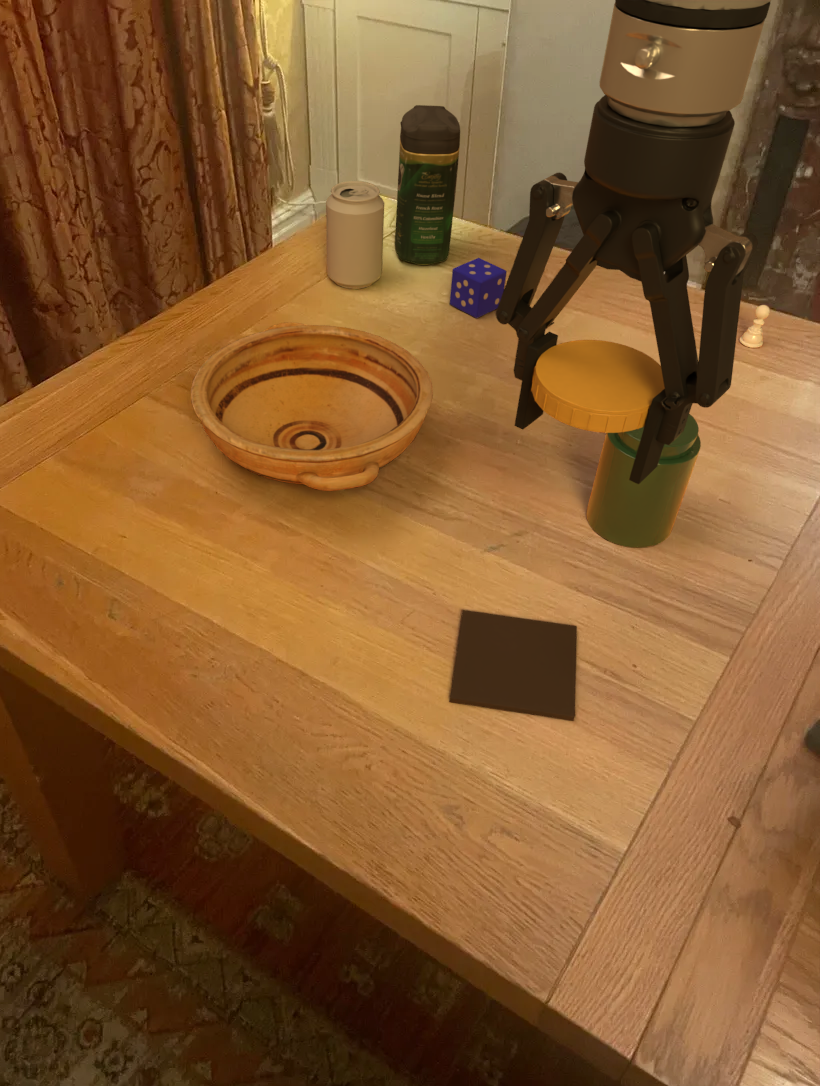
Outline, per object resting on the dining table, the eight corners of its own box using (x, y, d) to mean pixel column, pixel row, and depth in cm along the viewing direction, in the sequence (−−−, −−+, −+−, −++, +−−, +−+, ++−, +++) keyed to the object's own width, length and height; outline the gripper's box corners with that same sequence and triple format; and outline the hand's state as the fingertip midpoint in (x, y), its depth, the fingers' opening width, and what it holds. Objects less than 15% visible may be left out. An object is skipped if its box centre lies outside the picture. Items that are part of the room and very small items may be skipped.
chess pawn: (734, 339, 115) (747, 302, 111) (751, 335, 116) (764, 298, 112) (749, 350, 113) (763, 313, 109) (767, 345, 114) (781, 308, 110)
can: (336, 262, 127) (336, 174, 118) (388, 270, 126) (391, 181, 117) (319, 286, 122) (317, 196, 113) (372, 295, 121) (375, 204, 112)
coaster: (575, 630, 79) (577, 625, 79) (573, 721, 72) (575, 716, 72) (461, 614, 80) (462, 609, 80) (449, 702, 73) (449, 697, 73)
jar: (669, 498, 92) (702, 402, 84) (674, 553, 86) (709, 455, 78) (586, 487, 93) (610, 391, 85) (585, 541, 87) (611, 444, 79)
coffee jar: (452, 268, 127) (465, 125, 113) (396, 267, 126) (402, 124, 113) (446, 237, 133) (458, 99, 120) (393, 237, 133) (398, 98, 120)
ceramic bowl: (183, 388, 104) (173, 324, 98) (386, 363, 109) (388, 301, 103) (221, 560, 84) (212, 493, 79) (467, 520, 89) (476, 454, 83)
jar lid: (505, 397, 62) (509, 376, 60) (574, 347, 66) (578, 325, 65) (621, 450, 58) (627, 428, 56) (685, 392, 62) (692, 371, 61)
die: (474, 292, 122) (478, 256, 118) (502, 306, 119) (507, 270, 116) (448, 304, 119) (452, 268, 116) (476, 319, 117) (480, 282, 113)
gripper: (464, 73, 51) (433, 409, 68) (838, 176, 42) (698, 538, 58) (536, 46, 56) (490, 370, 72) (891, 135, 46) (747, 484, 62)
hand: (584, 445), depth 65 cm, fingers closed on jar lid, 9 cm apart
